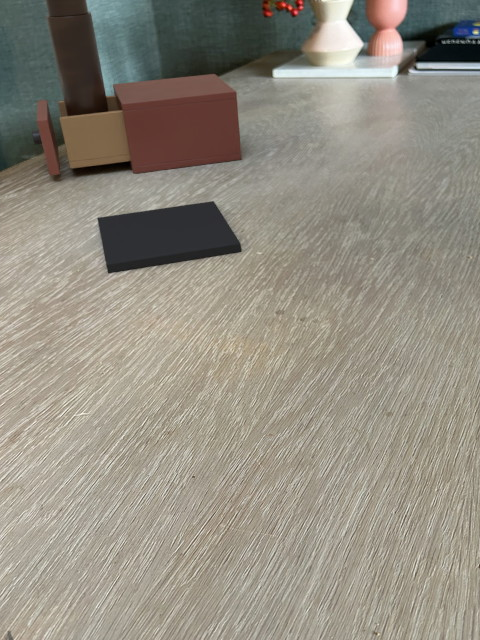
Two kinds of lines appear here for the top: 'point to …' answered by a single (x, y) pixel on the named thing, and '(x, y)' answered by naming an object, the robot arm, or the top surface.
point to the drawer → (84, 136)
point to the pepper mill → (76, 56)
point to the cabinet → (179, 122)
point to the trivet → (165, 236)
